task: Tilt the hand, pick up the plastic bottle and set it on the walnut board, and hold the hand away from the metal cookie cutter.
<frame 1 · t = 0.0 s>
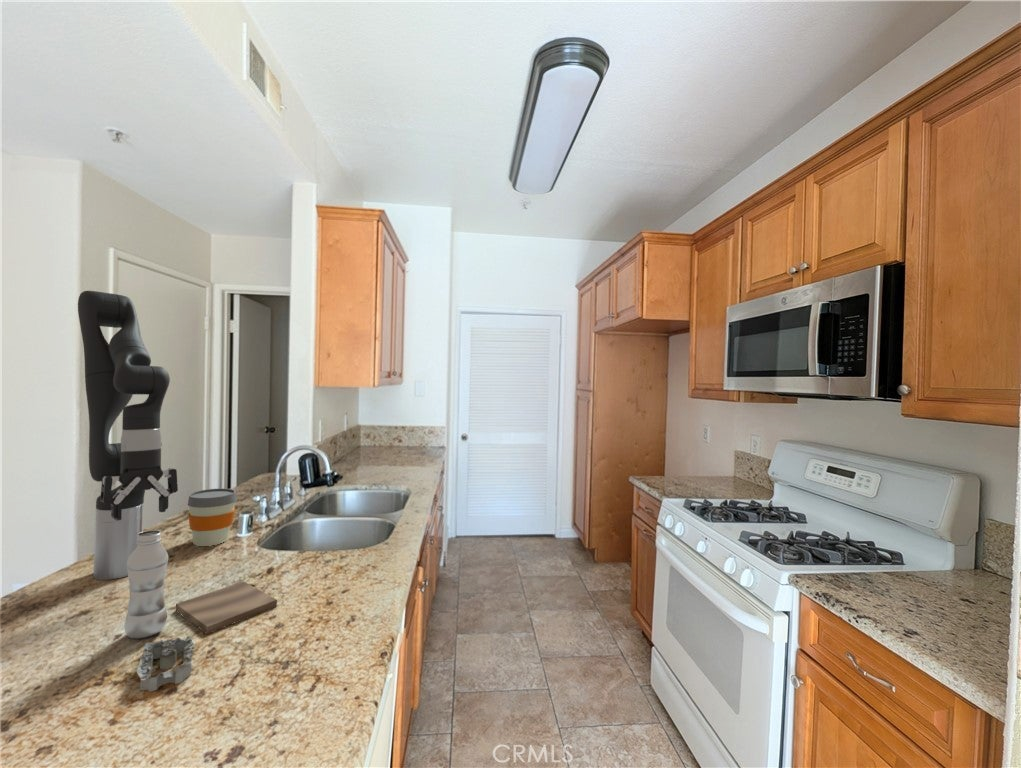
hand: (140, 515, 106), 17 cm above the counter, tool pointing down, fingers open, 8 cm apart
walnut board: (227, 608, 98), on the counter
reusable coffee cup: (211, 542, 137), on the counter
metal cookie cutter: (166, 673, 77), on the counter
plastic bottle: (145, 634, 88), on the counter
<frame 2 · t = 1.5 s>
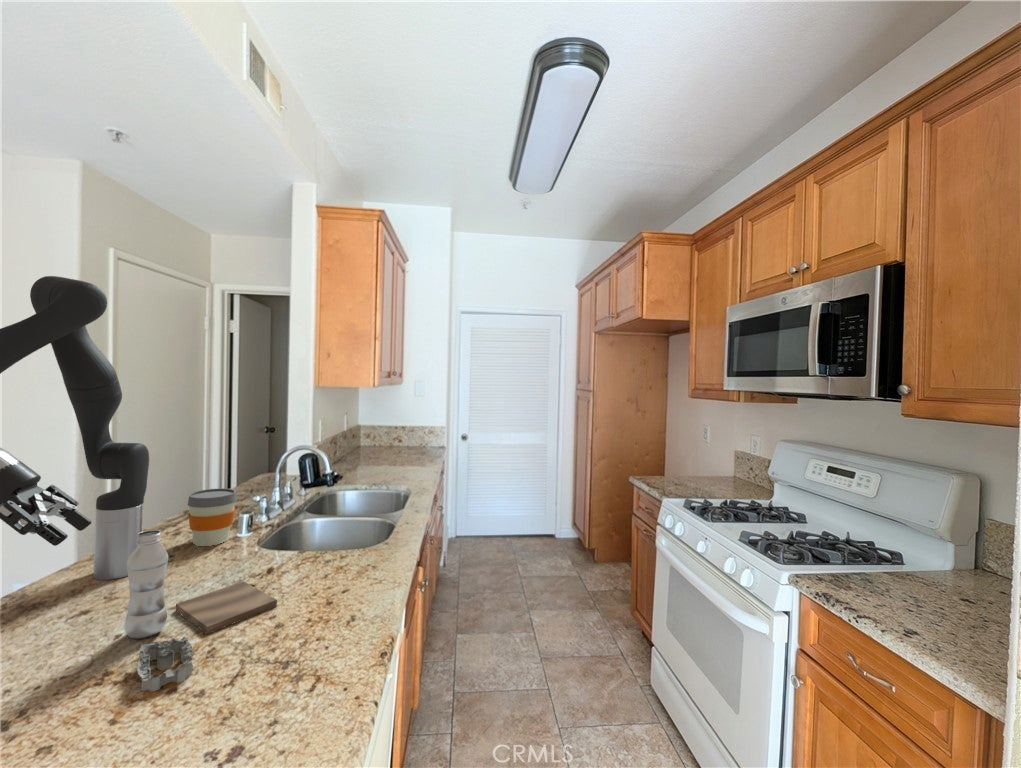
hand: (75, 533, 84), 21 cm above the counter, tool tilted 45°, fingers open, 8 cm apart
nothing on the counter moved.
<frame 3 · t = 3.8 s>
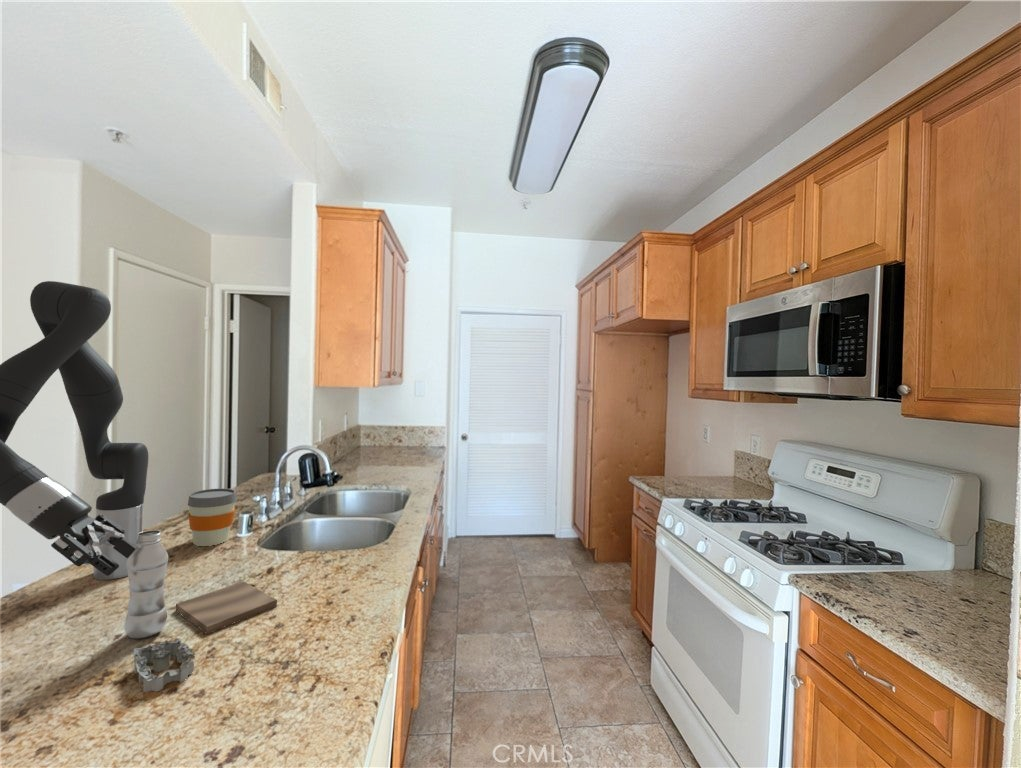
hand: (124, 562, 86), 15 cm above the counter, tool tilted 45°, fingers open, 8 cm apart
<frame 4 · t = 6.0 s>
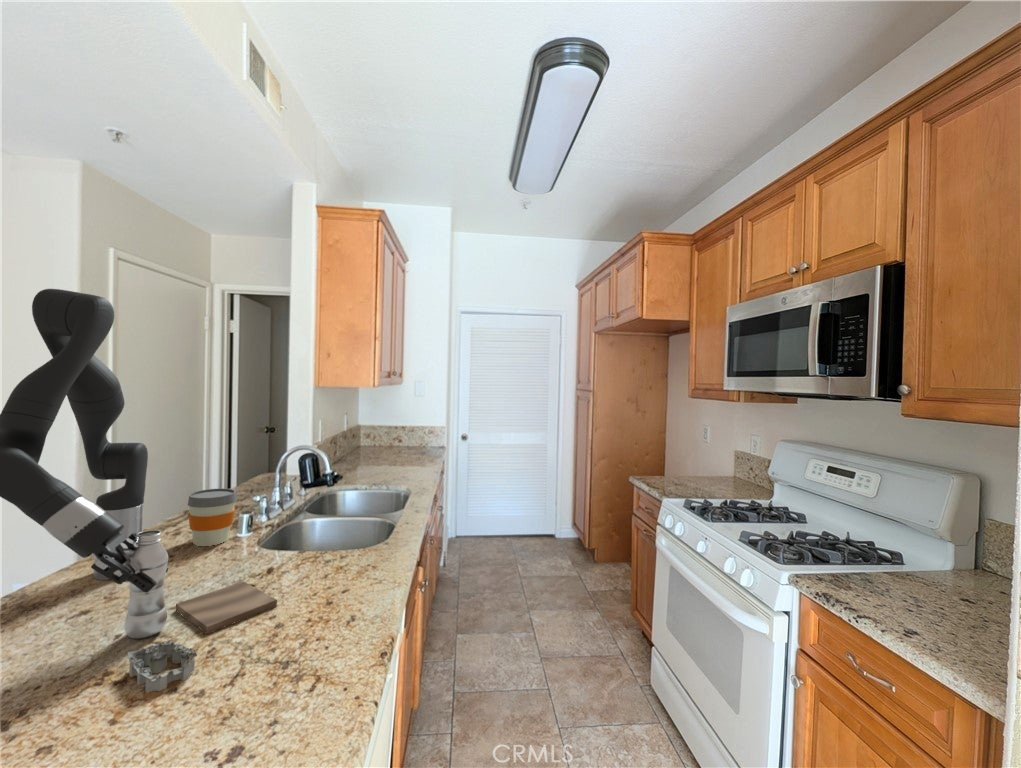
hand: (158, 580, 88), 10 cm above the counter, tool tilted 45°, fingers closed on plastic bottle, 6 cm apart
plastic bottle: (145, 634, 88), on the counter, touching gripper
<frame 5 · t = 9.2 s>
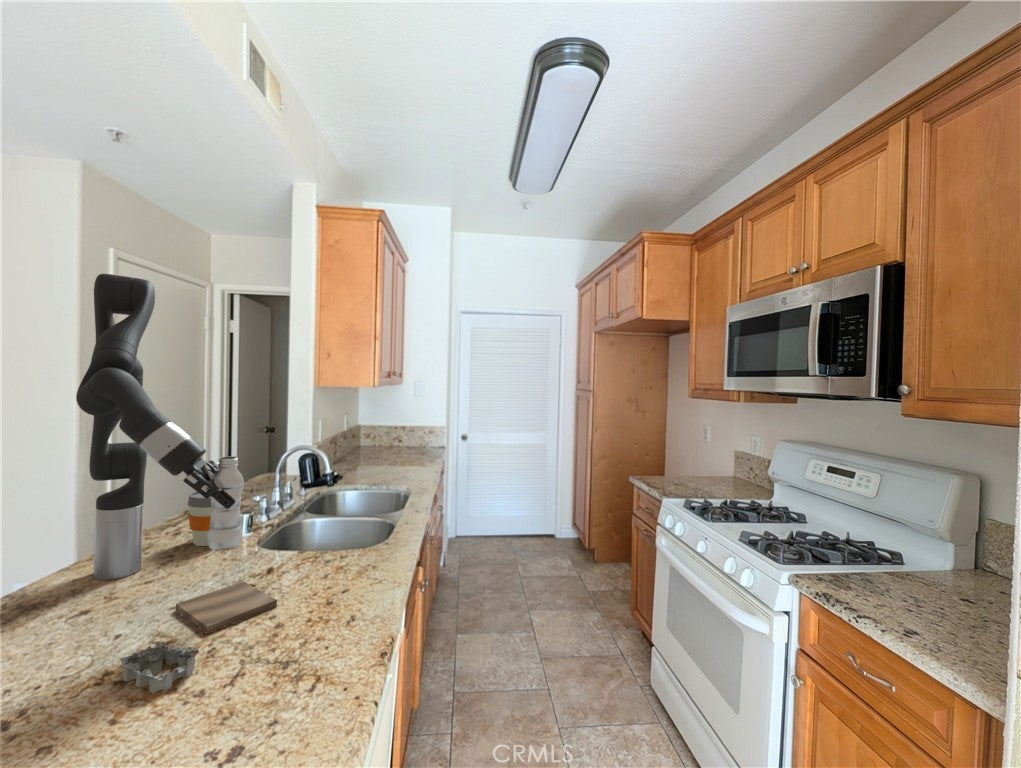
hand: (235, 501, 98), 24 cm above the counter, tool tilted 45°, fingers closed on plastic bottle, 6 cm apart
plastic bottle: (224, 549, 98), point 13 cm above the counter, touching gripper
when the fingers open (13 cm above the counter, at t = 12.4 s): plastic bottle stays where it is, resting on walnut board.
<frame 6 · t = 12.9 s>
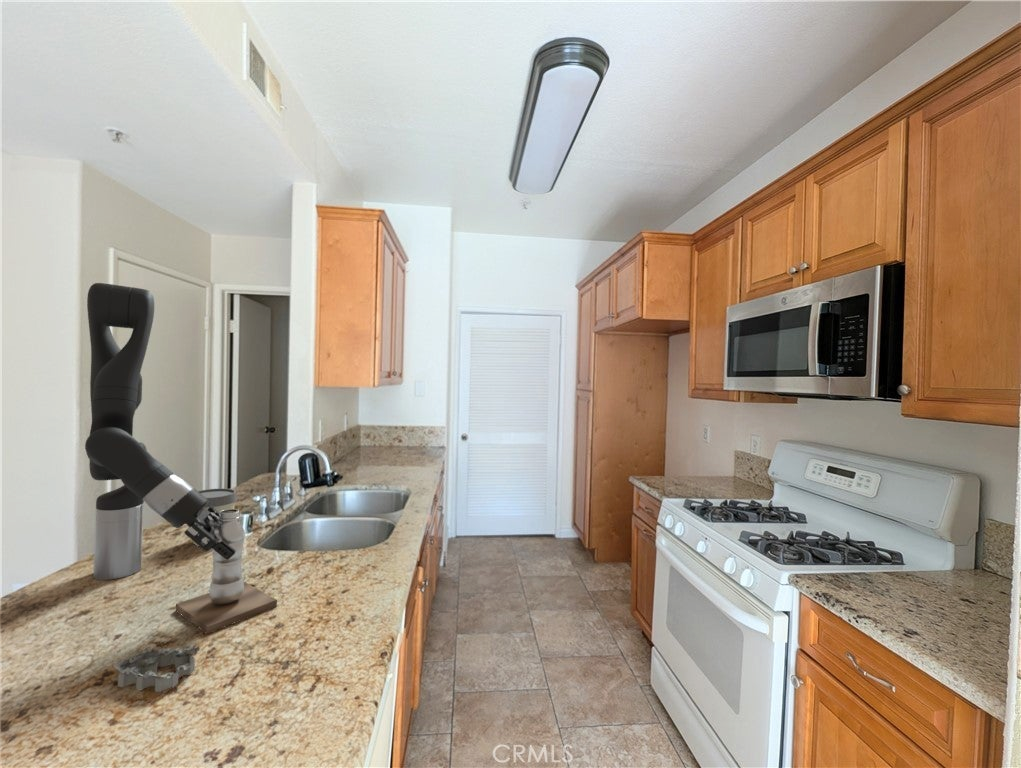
hand: (236, 548, 99), 13 cm above the counter, tool tilted 45°, fingers open, 8 cm apart
plastic bottle: (226, 602, 99), point 1 cm above the counter, touching walnut board
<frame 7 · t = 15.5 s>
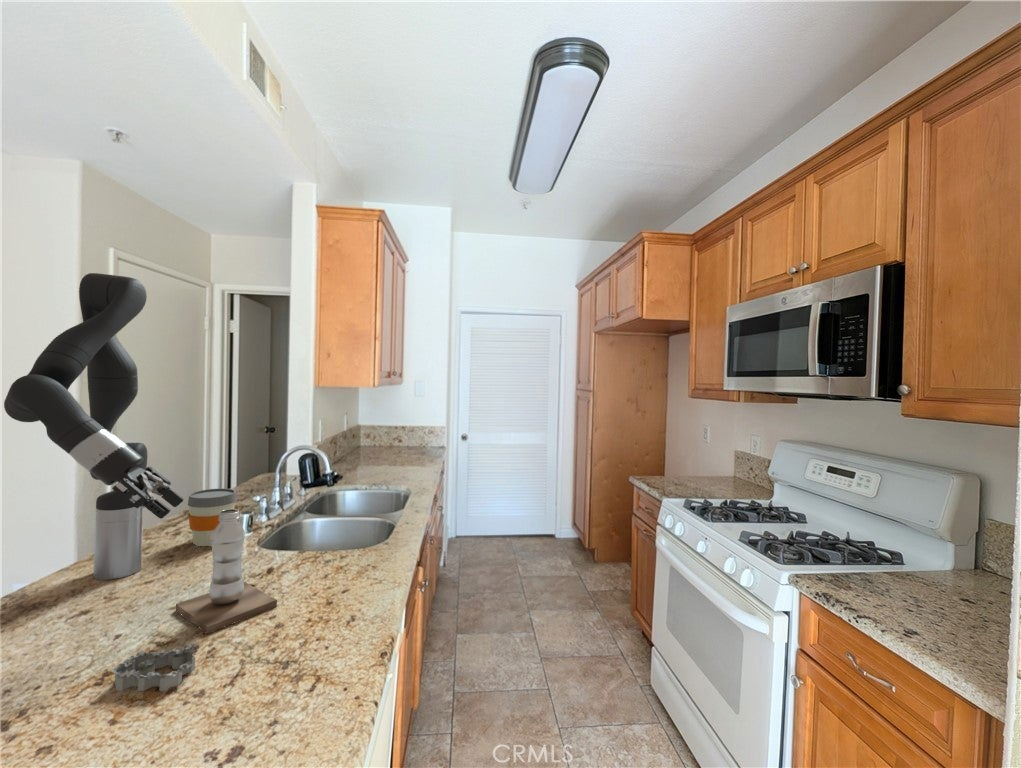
hand: (173, 509, 95), 23 cm above the counter, tool tilted 45°, fingers open, 8 cm apart
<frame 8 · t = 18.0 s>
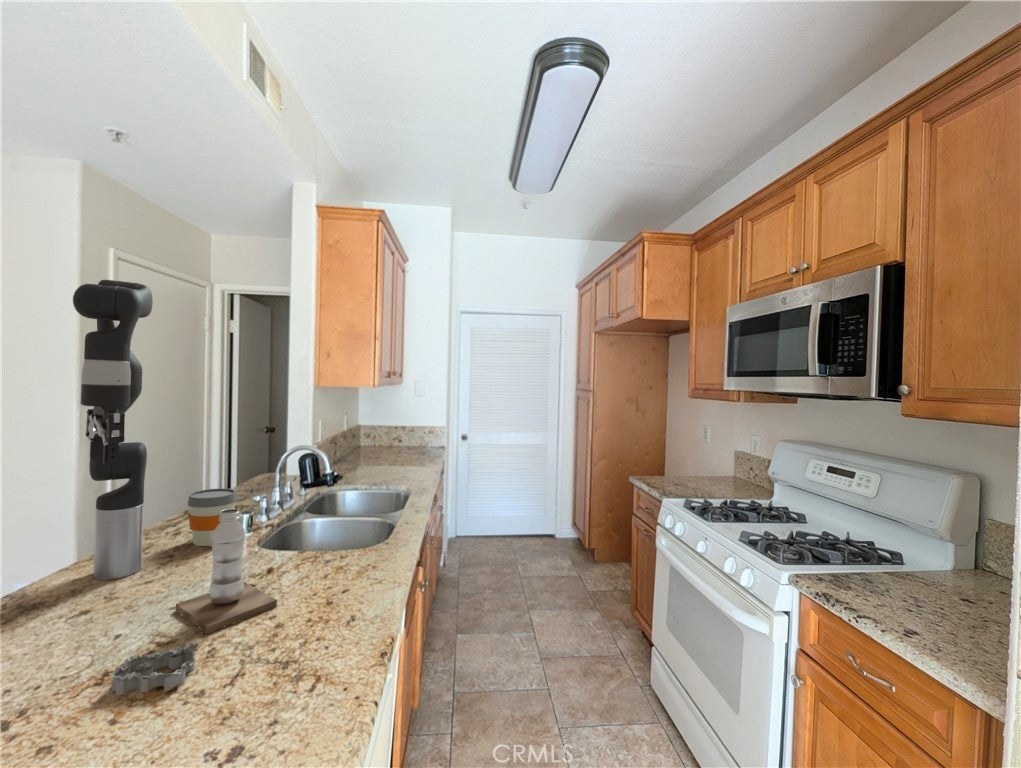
hand: (103, 461, 92), 33 cm above the counter, tool pointing down, fingers open, 8 cm apart
at the end: plastic bottle inside the target area on the walnut board (0.4 cm from its centre), point 1.3 cm above the walnut board's base; plastic bottle tilted 0°; metal cookie cutter moved 2.3 cm from its start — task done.
